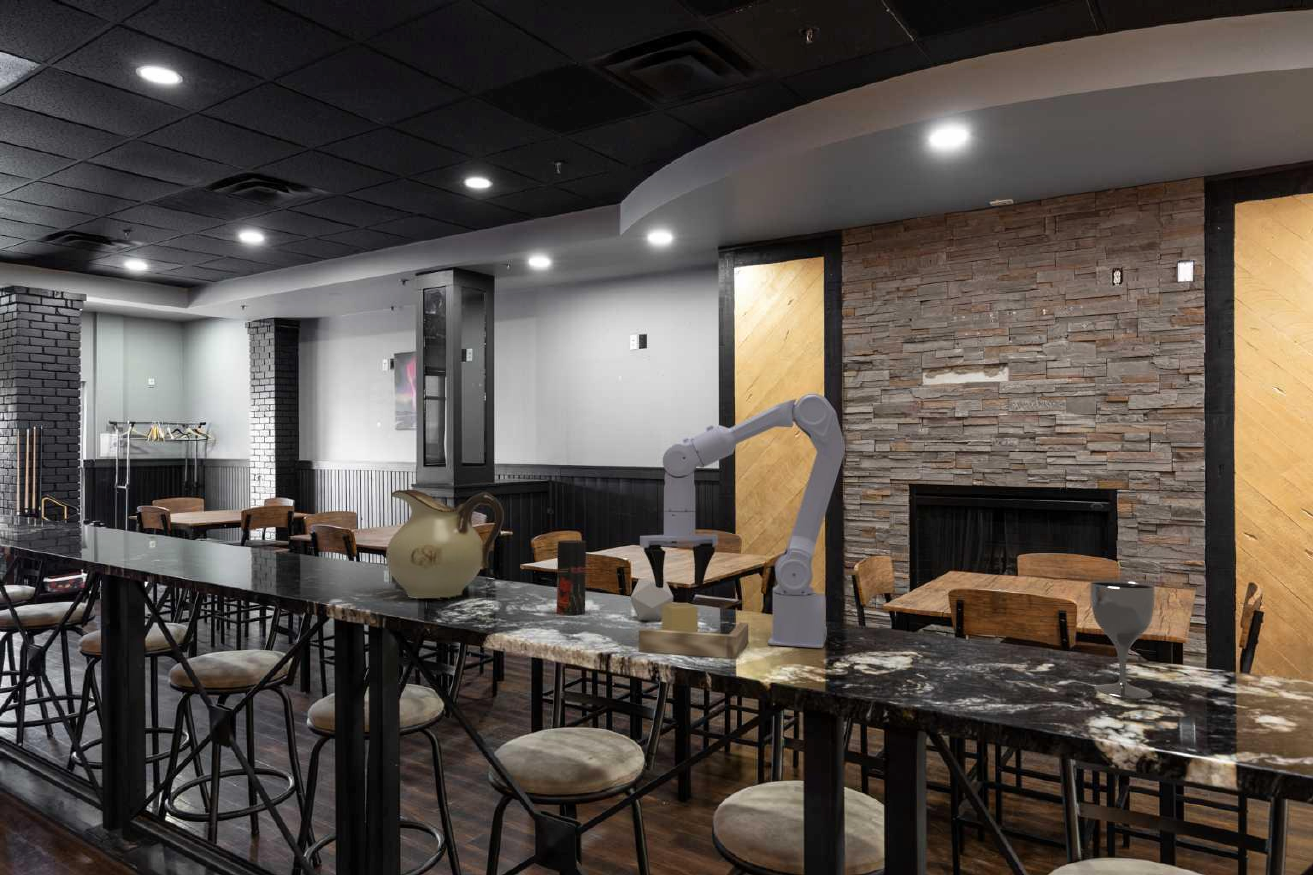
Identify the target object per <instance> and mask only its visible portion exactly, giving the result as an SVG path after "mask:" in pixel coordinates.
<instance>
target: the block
mask: <svg viewBox="0 0 1313 875" xmlns="http://www.w3.org/2000/svg"><path fill="white" fill-rule="evenodd" d="M698 614H699V608H698V606H696V605H694V604H691V603H688V602H678V603H677V602H676V603H673V602H672V604H662V620H661V630H668V631H683V632H698V631H699V630H698V629H699V626H698V625H699V623H698V622H699V619H698V618H699V615H698Z"/></svg>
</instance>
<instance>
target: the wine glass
mask: <svg viewBox="0 0 1313 875" xmlns="http://www.w3.org/2000/svg"><path fill="white" fill-rule="evenodd" d="M1089 585H1090V586H1089V589H1090V590H1089V593H1090V595H1089V596H1090V605H1091V609H1092V614H1093V618H1094V620H1095V622H1096V623H1097V625H1098V627H1100V629H1101V630H1102V631H1103V633H1104V634H1106V635H1107V637H1108V638H1109V640H1110V641H1111V642H1112V644H1113V645H1114V647H1115V649H1116V653H1117V658H1118V664H1119V665H1118V666H1119V680H1118V681H1117V682H1115V683H1107V684H1106V683H1104V684H1103V683H1102V684H1097V685H1095V686H1094V690H1096V691H1097V692H1099V693H1101V694H1104V695H1108V696H1112V697H1119V698H1124V699H1125V698H1126V699H1148V698H1152V697H1153V693H1152V692H1151V691H1148V690H1147V689H1143V688H1141V687H1137V686H1133V685H1130V683H1128V681H1127V662H1128V661H1127V660H1128V655H1129V654H1128V653H1129V652H1130V651H1129V650H1131V649H1130V648H1131V647H1132V645H1133V644H1134V643H1135V642H1136V640H1138V639H1139V638H1140V637H1141V635H1143V634H1144V633H1145V632H1146V631H1147V630H1148V629H1149V628H1150V625H1151V623H1152V619H1153V617H1154V616H1153V615H1154V610H1155V601H1156V597H1155V596H1156V592H1155V591H1156V590H1155V589H1156V588H1155V585H1153V584H1149V583H1144V582H1136V581H1126V580H1113V579H1112V580H1110V579H1109V580H1108V579H1107V580H1102V579H1101V580H1100V579H1099V580H1092V581H1090V584H1089Z"/></svg>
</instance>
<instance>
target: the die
mask: <svg viewBox="0 0 1313 875" xmlns="http://www.w3.org/2000/svg"><path fill="white" fill-rule="evenodd" d="M630 601H631V604H632V607H633V609H634V612H635V614H636V617H637V620H638V621H662V604H673V602H674V595H673V593H672V591H671V589H670V587H669V585H668V583H667V580H666V578H664V584H663V588H658V587H656V584H655V579H654V578H639V579H638V581H637V583H636V585H635V587H634V589H633V591H632V593H631V595H630Z"/></svg>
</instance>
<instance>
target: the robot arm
mask: <svg viewBox="0 0 1313 875" xmlns="http://www.w3.org/2000/svg"><path fill="white" fill-rule="evenodd" d="M796 401H797V402H796ZM794 424H795V425H796V427H797V428H798V429H800V431H802V432H803V433H804V434H805V435H807V437H808V438H809V440H810V442H811V443H812V445H813V448H814V449H815V450H816V454H815V458H814V461H813V464H812V467H811V471H810V473H809V477H808V480H807V484H806V486H805V490H804V493H803V495H802V496H803V497H802V499H801V503H800V505H799V508H798V512H797V514H796V517H795V521H794V524H793V528H792V532H791V534H790V537H789V539H788V541H787V545H786V547H785V550H784V552H783V553H782V554H781V555H780V556H779V557H778V558H777V560H776V561H775V565H774V572H775V579H776V582H777V585H776V586H774V587H772V635H771V636H770V638H769V639H768V641H767V645H769V646H770V645H771V646H783V647H784V646H786V647H799V648H813V649H823V648H824V645H825V643H826V640H827V636H828V634H827V633H828V627H827V626H826V625H827V623H826V622H827V620H826V619H827V618H826V614H827V612H826V608H827V607H826V606H827V603H826V601H827V600H826V594H825V593H816V592H814V590H815V589H814V588H813V587H811V584H812V580H813V570H812V561H813V558H814V554H815V550H816V544H817V540H818V538H819V535H820V531H821V528H822V525H823V523H824V519H825V516H826V512H827V510H828V506H829V502H830V500H831V497H832V493H833V491H834V487H835V484H836V480H837V477H838V475H839V470H840V468H841V464H842V461H843V459H844V456H845V452H846V443H845V440H844V436H843V434H842V429H841V426H840V424H839V419H838V414H837V412H836V410H835V409H834V407H833V406H832V405H831V403H830V401H828V399H827V398H826V397H825V396H823V395H821V394H819V393H815V392H812V393H807V394H804V395H803V396H801V397H800V398H799V399H798V400H797V398H792V399H789V400H787V401H783V402H781V403H777V404H775V405H773V406H771V407H769V408H768V409H765V410H763V411H761V412H759V413H758V414H755V415H754V416H751V417H750V418H748V419H746V420H744V421H742V422H740V423H738V424H735V425H733V426H732V427H726V426H723V425H720V424H719V425H717V426H715V427H714V425H713V424H711V425H709V426H707V427H706V428H705V429H706V431H703V432H701V433H700V434H697V435H695V436H694V437H691V438H688V437H685V438H683V439H682V443H683V444H682V443H675V444H673V445H672V446H671V447H669V448H668V449H667V450H666V451H665V452H664V454H663V457H662V465H663V468H664V470H665V471H666V472H665V473H664V486H663V534H655V535H652V534H651V535H640V536H639V547H640V548H643V552H644V554H645V556H646V558H647V560H648V562H649V565H650V568H651V571H652V574H653V579H655V584H656V587H658V588H663V584H664V579H665V578H664V568H665V567H664V566H665V556H666V550H664V549H663V548H662V547H692V553H693V561H694V586H697V587H703V585H704V580H705V576H706V572H707V569H708V567H709V564H710V562H711V560H712V558H713V556H714V554H715V552H716V547H715V546H719V534H715V533H709V534H708V533H707V534H706V533H705V534H704V533H703V534H702V533H701V534H700V533H696V486H695V485H696V484H695V470H696V469H697V467H699V468H701V469H702V468H705V467H707V466H709V465H712V464H714V463H716V462H718V461H720V460H722V459H725V458H726V457H728V456H731V455H733V454H734V452H735V449H736V446H737V444H739V443H742V442H743V441H747V440H749V439H751V438H753V437H756V436H758V435H760V434H762V433H764V432H767V431H770V430H771V429H773V428H777V427H778V428H780V427H781V428H793V427H794ZM673 542H674V543H673Z"/></svg>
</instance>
